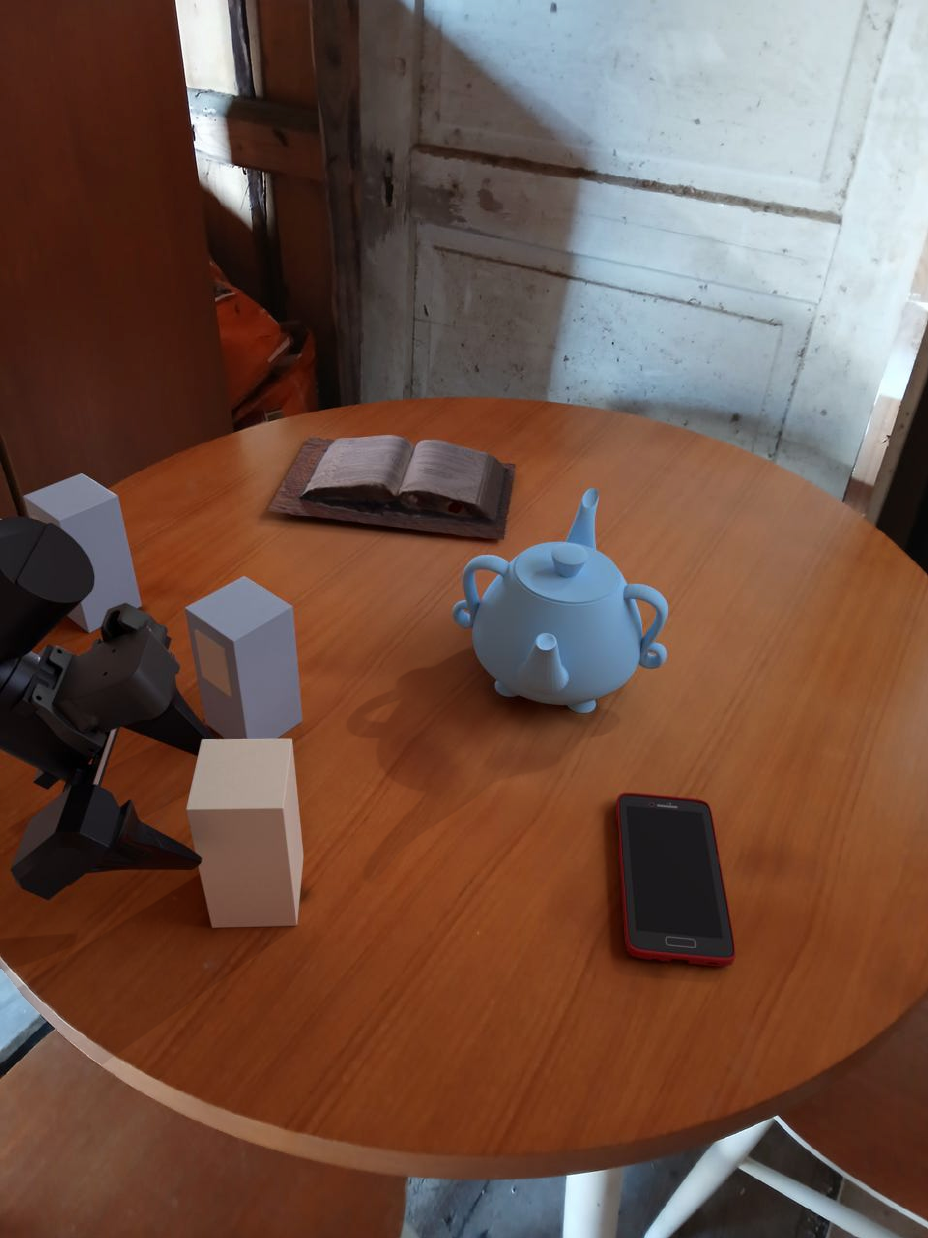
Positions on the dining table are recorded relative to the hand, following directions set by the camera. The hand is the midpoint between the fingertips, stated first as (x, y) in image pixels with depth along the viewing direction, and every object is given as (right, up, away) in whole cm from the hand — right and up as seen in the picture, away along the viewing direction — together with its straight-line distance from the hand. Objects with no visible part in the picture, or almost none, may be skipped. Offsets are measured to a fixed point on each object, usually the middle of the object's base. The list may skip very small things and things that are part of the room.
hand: (209, 806), depth 60 cm
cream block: (+2, -7, +6) cm, 10 cm away
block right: (-2, +3, +20) cm, 20 cm away
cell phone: (+33, -7, +9) cm, 35 cm away
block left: (-20, +14, +31) cm, 39 cm away
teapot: (+25, +7, +27) cm, 38 cm away
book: (+9, +29, +52) cm, 60 cm away
